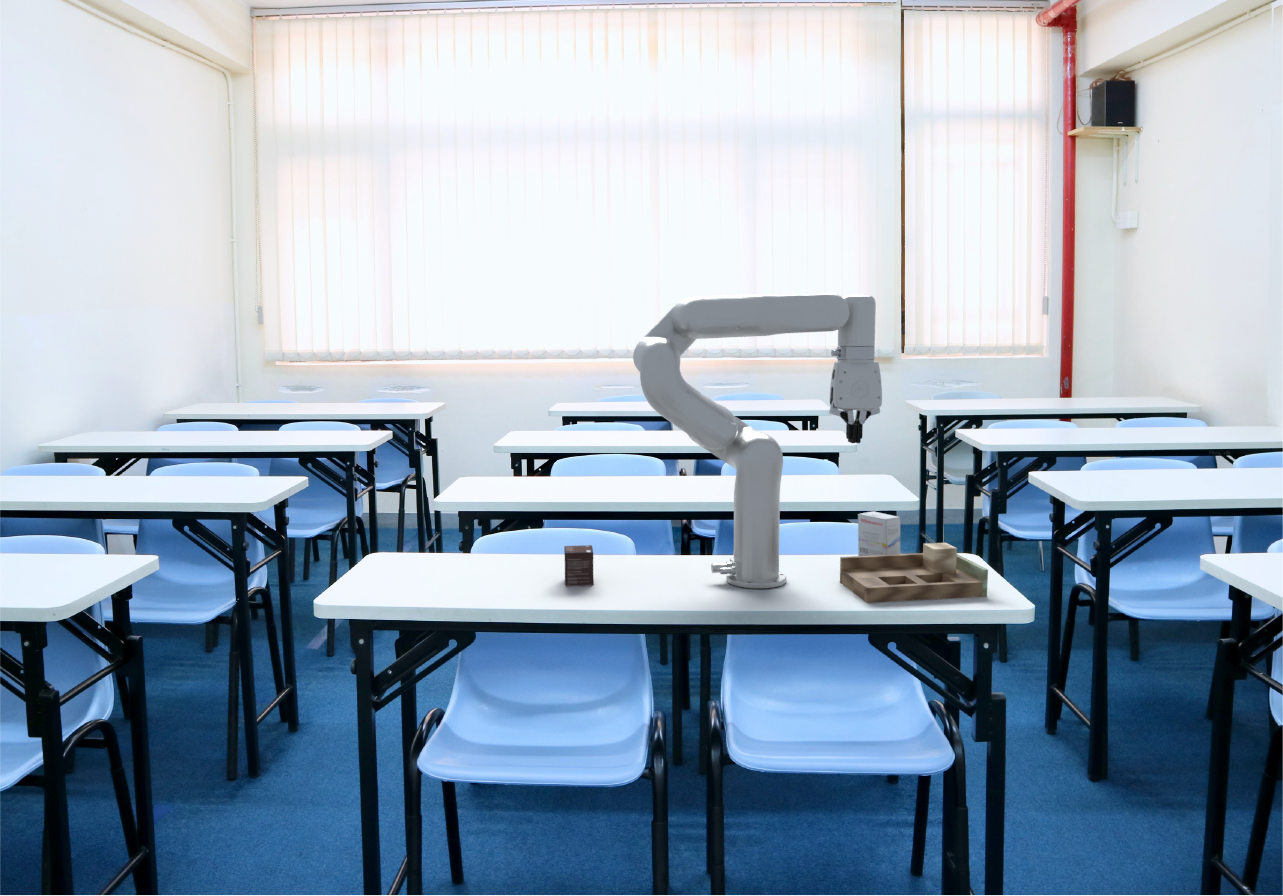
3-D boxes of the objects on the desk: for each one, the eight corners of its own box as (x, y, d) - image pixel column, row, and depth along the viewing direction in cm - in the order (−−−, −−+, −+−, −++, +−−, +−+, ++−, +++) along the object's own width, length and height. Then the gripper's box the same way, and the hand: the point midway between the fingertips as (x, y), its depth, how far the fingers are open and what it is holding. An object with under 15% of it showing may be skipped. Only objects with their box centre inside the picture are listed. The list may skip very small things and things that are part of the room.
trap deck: (866, 603, 189) (867, 575, 188) (839, 582, 204) (840, 557, 203) (986, 596, 192) (988, 569, 192) (952, 577, 207) (952, 551, 206)
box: (564, 579, 208) (564, 545, 207) (592, 578, 209) (592, 544, 208) (565, 586, 202) (564, 552, 201) (593, 585, 203) (593, 551, 202)
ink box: (901, 569, 214) (903, 516, 212) (885, 572, 211) (886, 519, 210) (872, 561, 221) (873, 510, 220) (856, 564, 218) (857, 513, 217)
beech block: (933, 573, 199) (933, 549, 198) (922, 566, 204) (923, 543, 203) (956, 571, 200) (956, 548, 199) (945, 565, 205) (945, 542, 204)
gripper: (827, 356, 197) (825, 445, 199) (897, 355, 199) (895, 443, 202) (815, 354, 204) (814, 441, 207) (883, 353, 207) (881, 439, 209)
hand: (854, 442), depth 204 cm, fingers closed
